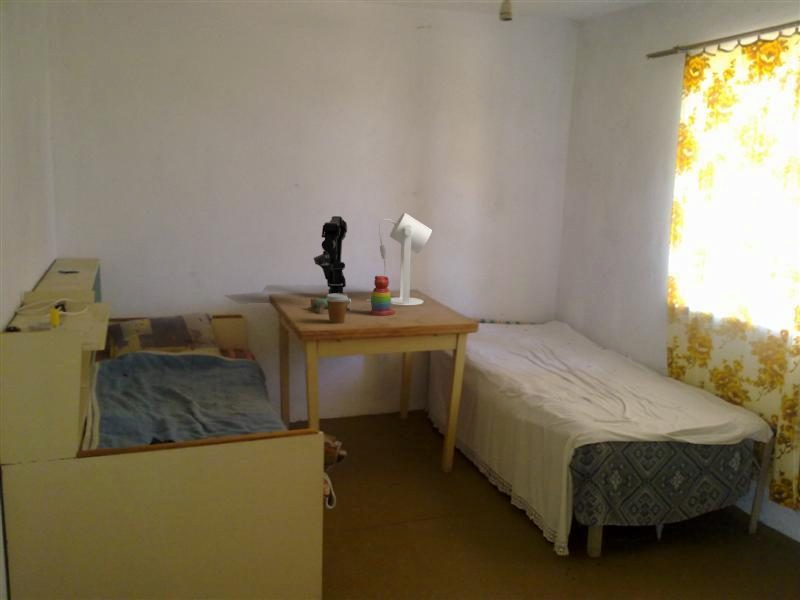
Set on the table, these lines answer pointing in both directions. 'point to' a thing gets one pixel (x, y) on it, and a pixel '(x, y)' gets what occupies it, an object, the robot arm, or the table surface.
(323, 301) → the bottle
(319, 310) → the cradle
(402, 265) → the desk lamp
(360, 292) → the table surface
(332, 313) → the disposable coffee cup
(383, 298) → the stacking bear
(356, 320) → the table surface
